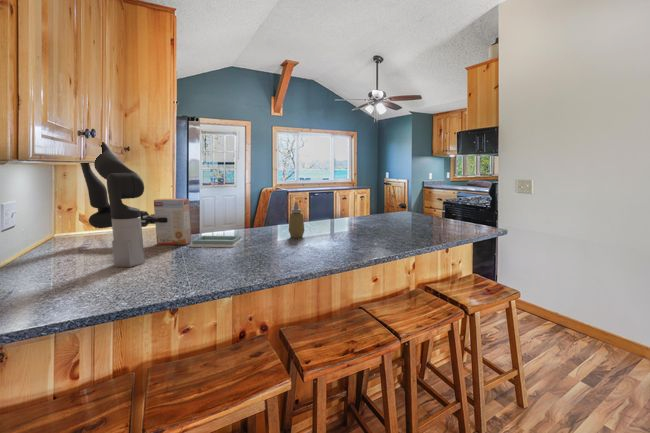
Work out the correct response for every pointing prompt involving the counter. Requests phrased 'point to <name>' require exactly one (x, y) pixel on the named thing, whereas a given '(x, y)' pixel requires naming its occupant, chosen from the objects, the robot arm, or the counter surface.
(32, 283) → the counter surface
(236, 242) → the docking plate
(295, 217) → the squeeze bottle
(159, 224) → the cracker box
